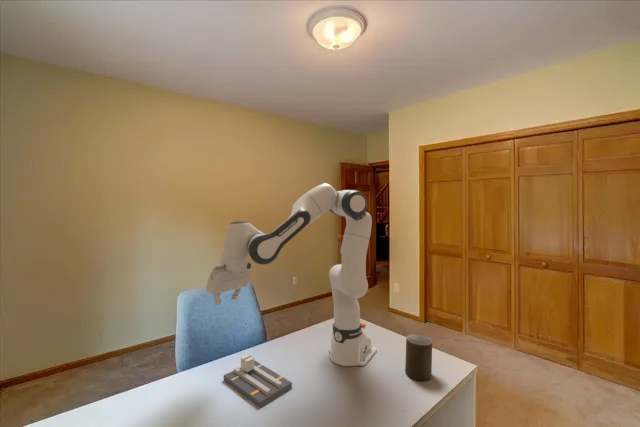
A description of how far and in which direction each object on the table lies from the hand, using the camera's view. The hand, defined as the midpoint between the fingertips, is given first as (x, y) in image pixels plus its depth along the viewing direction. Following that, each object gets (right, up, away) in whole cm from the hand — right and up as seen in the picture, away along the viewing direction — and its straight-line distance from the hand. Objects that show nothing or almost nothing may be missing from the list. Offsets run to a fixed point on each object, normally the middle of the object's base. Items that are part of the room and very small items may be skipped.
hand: (225, 301), depth 107 cm
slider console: (+11, -30, 0) cm, 32 cm away
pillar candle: (+73, -30, +7) cm, 79 cm away
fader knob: (+7, -28, +3) cm, 29 cm away
